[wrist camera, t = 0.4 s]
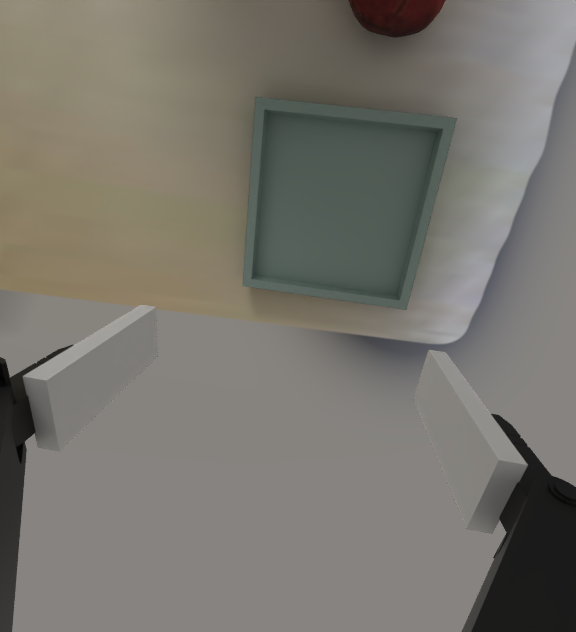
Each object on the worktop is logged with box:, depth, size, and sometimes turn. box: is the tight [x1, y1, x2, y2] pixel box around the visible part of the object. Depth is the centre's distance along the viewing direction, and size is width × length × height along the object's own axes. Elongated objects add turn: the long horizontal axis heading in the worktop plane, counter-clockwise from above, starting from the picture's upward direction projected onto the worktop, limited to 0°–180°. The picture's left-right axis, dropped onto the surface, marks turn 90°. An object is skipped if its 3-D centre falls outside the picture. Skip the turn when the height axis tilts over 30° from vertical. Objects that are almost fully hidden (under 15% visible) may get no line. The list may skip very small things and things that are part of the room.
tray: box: [243, 97, 457, 310], centre depth 37 cm, size 20×20×2 cm
